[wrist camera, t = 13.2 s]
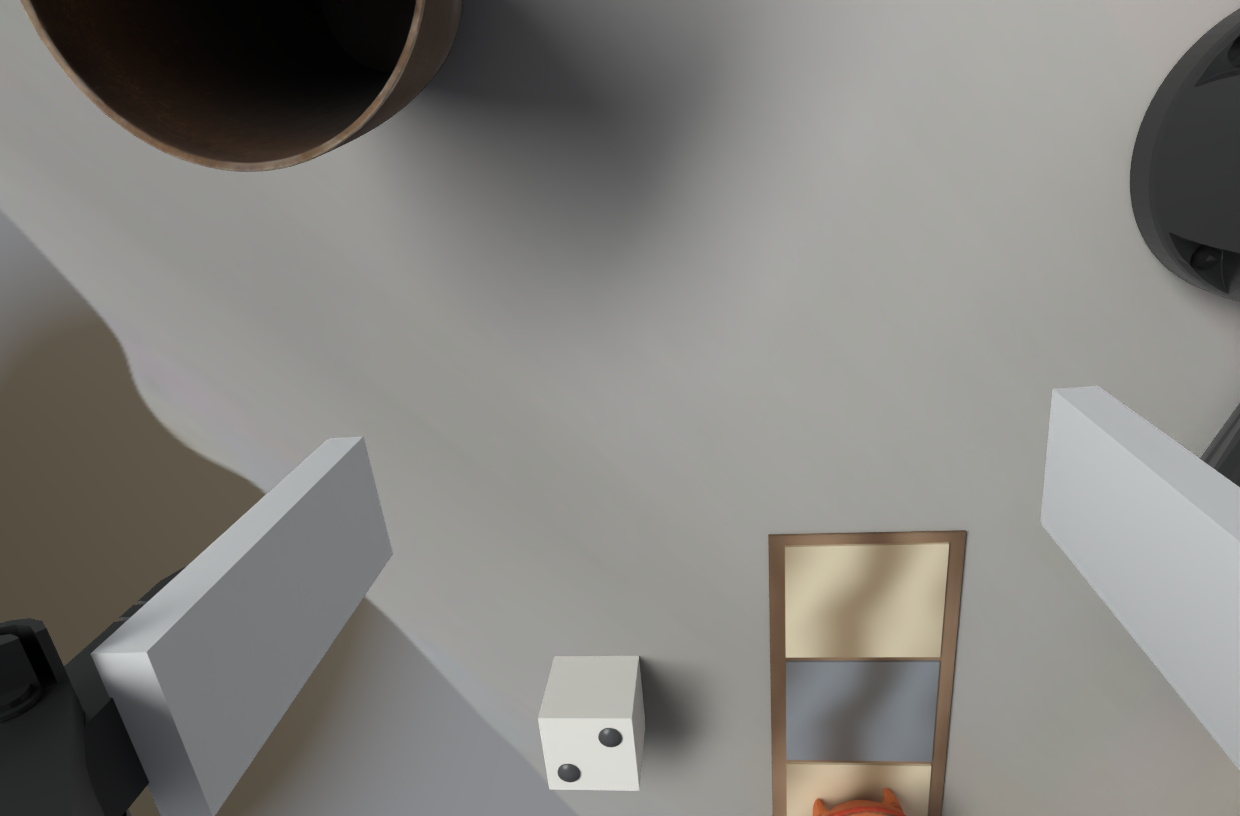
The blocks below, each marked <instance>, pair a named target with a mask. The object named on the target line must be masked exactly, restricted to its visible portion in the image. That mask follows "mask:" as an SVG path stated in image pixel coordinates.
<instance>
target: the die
mask: <svg viewBox="0 0 1240 816" xmlns="http://www.w3.org/2000/svg"><path fill="white" fill-rule="evenodd" d="M538 722H539V728H540V734H541V740H542V747H543V753H544V759H545V765H546V771H547V778H548V784H549V789H558V790H630V791H639V789H640V778H641V767H642V756H643V745H644V734H645V713H644V703H643V693H642V683H641V673H640V662H639V656H554V660H553V663H552V667H551V671H550V675H549V679H548V682H547V686H546V690H545V694H544V697H543V701H542V705H541V709H540V712H539V716H538Z"/></svg>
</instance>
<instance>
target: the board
mask: <svg viewBox="0 0 1240 816" xmlns="http://www.w3.org/2000/svg"><path fill="white" fill-rule="evenodd" d="M768 537H769V600H770V664H771V728H772V792H773V816H813V805H814V802H815V800H816V799H820V800H821V802H822V804H823V805H824V807H825V808H826V809H827V810H828V811H830V810H831V809H832V808H834V807H835V806H837V805H839V804H841V803H844V802H848V801H854V800H869V801H875V802H879V803H882V801H883V789H884V788H888V789H890V790H891V791H892V792H893V794H894V795H895V796H896V798H897V799H898V801H899V803H900V806H901V808H902V810H903V812H904V815H906V816H941V808H942V797H943V786H944V775H945V763H946V752H947V741H948V730H949V718H950V707H951V696H952V685H953V673H954V662H955V651H956V640H957V628H958V617H959V606H960V595H961V583H962V572H963V561H964V550H965V538H966V531H921V532H874V533H827V534H780V535H768Z"/></svg>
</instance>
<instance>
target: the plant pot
mask: <svg viewBox="0 0 1240 816" xmlns="http://www.w3.org/2000/svg"><path fill="white" fill-rule="evenodd" d="M20 1H21V3H22V6H23V8H24V10H25V12H26V14H27V16H28V18H29V19H30V21H31V23H32V25H33V27H34V28H35V30H36V32H37V34H38V36H39V37H40V39H41V40H42V42H43V43H44V44H45V46H46V47H47V49H48V50H49V52H50V53H51V55H52V56H53V58H54V59H55V60H56V62H57V63H58V64H59V65H60V67H61V68H62V69H63V71H64V72H65V73H66V75H67V76H68V77H69V78H70V79H71V81H72V82H73V83H74V84H75V85H76V86H77V87H78V88H79V90H80V91H81V92H82V93H83V94H84V95H85V96H86V97H87V98H89V99H90V100H91V101H92V102H93V103H94V104H95V105H96V106H97V107H98V108H99V109H100V110H101V111H102V112H103V113H104V114H105V115H107V116H108V117H109V118H111V119H112V120H113V121H115V122H116V123H117V124H119V125H120V126H121V127H123V128H124V129H126V130H127V131H129V132H130V133H131V134H133V135H134V136H136V137H138V138H139V139H141V140H143V141H144V142H146V143H148V144H149V145H151V146H153V147H155V148H157V149H159V150H161V151H163V152H165V153H167V154H170V155H172V156H174V157H177V158H179V159H182V160H185V161H188V162H191V163H194V164H198V165H202V166H206V167H210V168H215V169H220V170H228V171H240V172H257V171H269V170H276V169H282V168H286V167H291V166H294V165H297V164H300V163H303V162H306V161H309V160H311V159H314V158H316V157H318V156H321V155H323V154H325V153H327V152H330V151H332V150H334V149H336V148H338V147H340V146H342V145H344V144H346V143H348V142H350V141H352V140H354V139H356V138H358V137H360V136H362V135H363V134H365V133H367V132H369V131H370V130H372V129H374V128H375V127H377V126H379V125H380V124H382V123H383V122H385V121H386V120H388V119H389V118H391V117H392V116H393V115H395V114H396V113H397V112H399V111H400V110H401V109H402V108H404V107H405V106H406V105H407V104H408V103H410V102H411V101H412V100H413V99H414V98H415V97H416V96H417V95H418V94H419V93H420V92H421V91H422V90H423V89H424V88H425V87H426V85H427V84H428V83H429V82H430V81H431V80H432V78H433V77H434V76H435V75H436V73H437V72H438V70H439V69H440V68H441V66H442V64H443V63H444V61H445V60H446V58H447V56H448V54H449V52H450V50H451V48H452V45H453V43H454V41H455V38H456V35H457V32H458V28H459V24H460V19H461V13H462V4H463V0H20Z"/></svg>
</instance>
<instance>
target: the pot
mask: <svg viewBox="0 0 1240 816" xmlns="http://www.w3.org/2000/svg"><path fill="white" fill-rule="evenodd" d="M813 816H906V815H904V812H903V810H902V808H901V806H900V803H899V801H898V799H897V798H896V796H895V795H894V794H893V792H892V791H891V790H890V789H888V788H884V789H883V801H882V803H879V802H875V801H869V800H854V801H848V802H844V803H841V804H839V805H837V806H835V807H834V808H832V809H831V810H830V811H828V810H827V809H826V808H825V807H824V805H823V804H822V802H821V800H820V799H816V800H815V802H814V805H813Z"/></svg>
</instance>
